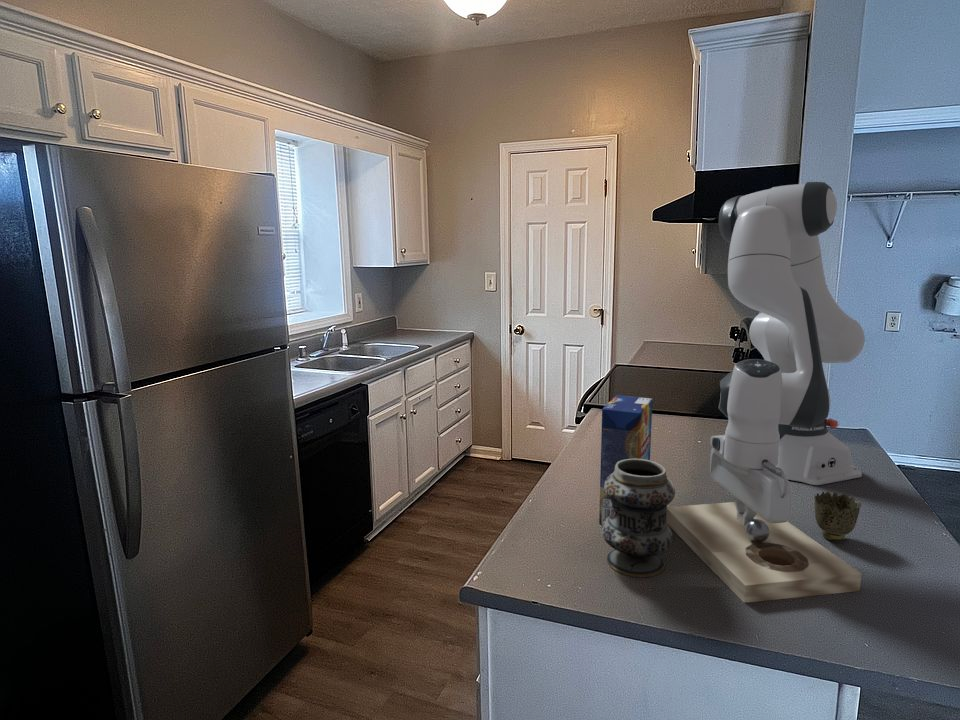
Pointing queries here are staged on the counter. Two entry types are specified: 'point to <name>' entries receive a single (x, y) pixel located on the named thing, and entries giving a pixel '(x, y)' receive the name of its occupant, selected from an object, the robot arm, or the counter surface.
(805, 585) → the hole board
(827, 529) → the cup
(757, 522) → the steel ball
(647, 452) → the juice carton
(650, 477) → the apothecary jar
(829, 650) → the counter surface
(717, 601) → the counter surface
